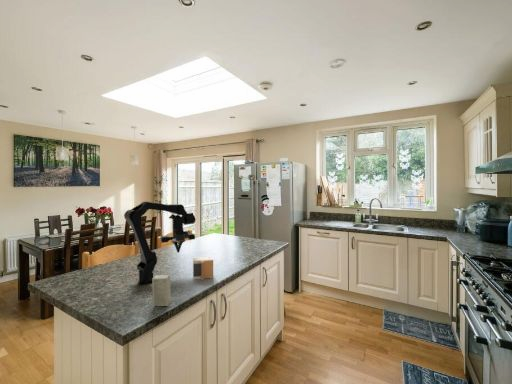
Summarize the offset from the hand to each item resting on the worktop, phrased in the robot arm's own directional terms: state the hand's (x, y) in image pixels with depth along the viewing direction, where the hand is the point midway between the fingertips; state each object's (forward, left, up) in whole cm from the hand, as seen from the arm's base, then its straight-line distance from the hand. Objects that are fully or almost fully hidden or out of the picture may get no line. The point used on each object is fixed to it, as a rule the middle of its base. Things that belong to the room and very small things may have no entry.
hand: (178, 252), depth 143 cm
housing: (+10, -13, -12) cm, 20 cm away
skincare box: (-15, -37, -12) cm, 42 cm away
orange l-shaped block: (+11, -19, -12) cm, 25 cm away
